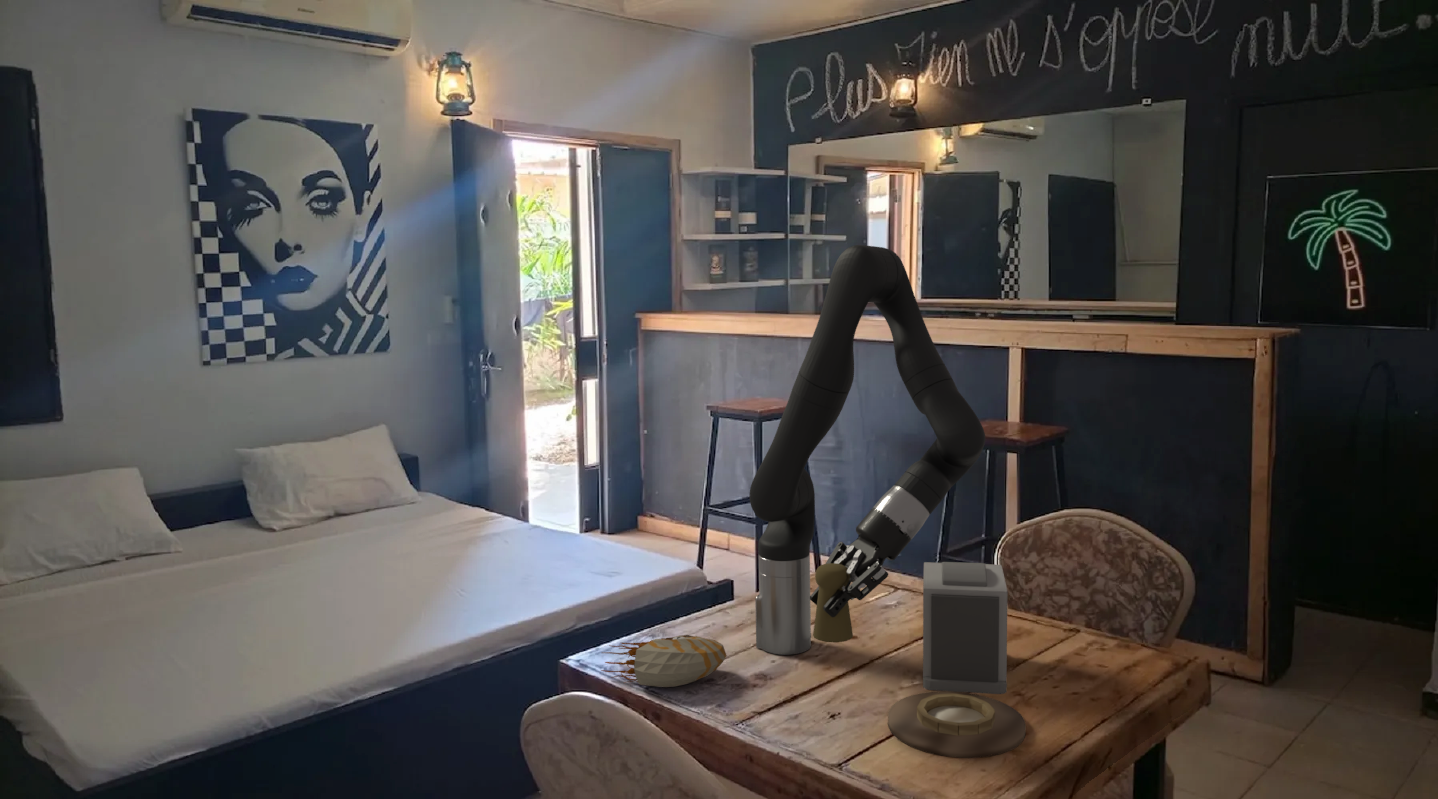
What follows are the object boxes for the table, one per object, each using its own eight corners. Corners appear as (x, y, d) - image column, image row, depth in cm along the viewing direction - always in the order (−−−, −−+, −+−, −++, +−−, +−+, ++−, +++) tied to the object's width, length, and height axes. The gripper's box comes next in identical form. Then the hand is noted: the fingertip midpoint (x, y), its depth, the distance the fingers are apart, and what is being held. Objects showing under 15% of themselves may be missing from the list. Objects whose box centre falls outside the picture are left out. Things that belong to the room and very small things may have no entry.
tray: (872, 744, 149) (872, 726, 149) (905, 691, 168) (905, 675, 167) (1015, 767, 141) (1015, 749, 141) (1033, 709, 159) (1033, 692, 159)
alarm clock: (1007, 694, 165) (1008, 583, 163) (923, 689, 168) (923, 580, 166) (999, 652, 183) (1000, 551, 181) (923, 648, 186) (924, 549, 183)
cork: (856, 630, 159) (856, 561, 158) (848, 644, 154) (848, 572, 152) (818, 626, 161) (817, 558, 160) (808, 640, 156) (808, 569, 154)
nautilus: (586, 694, 171) (623, 665, 185) (708, 700, 164) (737, 670, 178) (582, 646, 170) (620, 621, 185) (705, 651, 163) (734, 624, 178)
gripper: (856, 497, 164) (786, 579, 162) (899, 517, 150) (824, 608, 148) (886, 526, 166) (817, 608, 164) (931, 549, 153) (857, 638, 151)
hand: (821, 607), depth 156 cm, fingers closed on cork, 4 cm apart
